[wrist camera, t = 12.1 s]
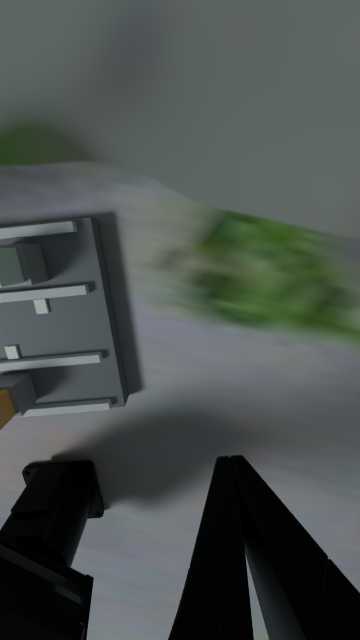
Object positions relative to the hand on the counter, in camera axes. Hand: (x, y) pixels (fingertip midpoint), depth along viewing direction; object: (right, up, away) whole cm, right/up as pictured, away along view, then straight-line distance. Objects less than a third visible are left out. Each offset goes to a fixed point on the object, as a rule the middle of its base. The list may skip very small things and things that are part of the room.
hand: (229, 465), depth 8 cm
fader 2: (-14, 0, +11) cm, 18 cm away
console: (-12, +5, +11) cm, 17 cm away
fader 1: (-12, +9, +8) cm, 17 cm away
